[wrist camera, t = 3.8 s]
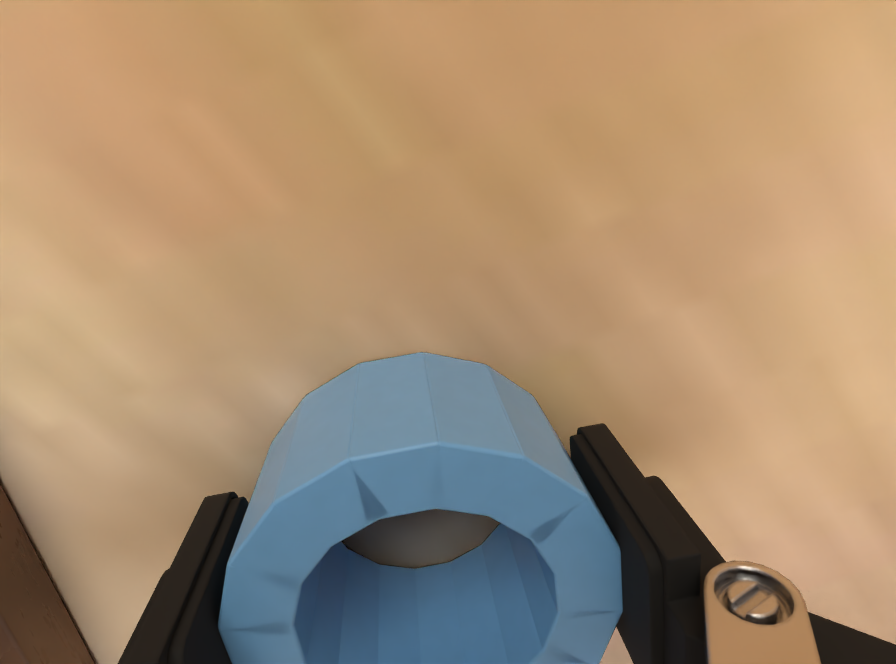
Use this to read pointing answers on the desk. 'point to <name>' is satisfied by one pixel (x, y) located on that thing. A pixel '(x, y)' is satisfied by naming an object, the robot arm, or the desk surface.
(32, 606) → the tape stand
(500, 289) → the desk surface
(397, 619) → the tape roll
